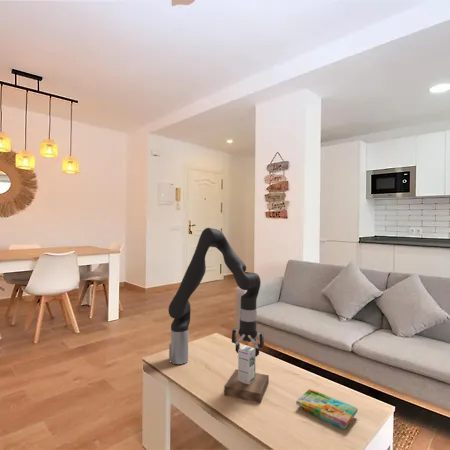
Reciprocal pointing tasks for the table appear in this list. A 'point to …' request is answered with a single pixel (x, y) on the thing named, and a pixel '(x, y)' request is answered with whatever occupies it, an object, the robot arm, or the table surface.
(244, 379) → the syrup box
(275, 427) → the table surface
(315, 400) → the puzzle game
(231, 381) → the walnut base
